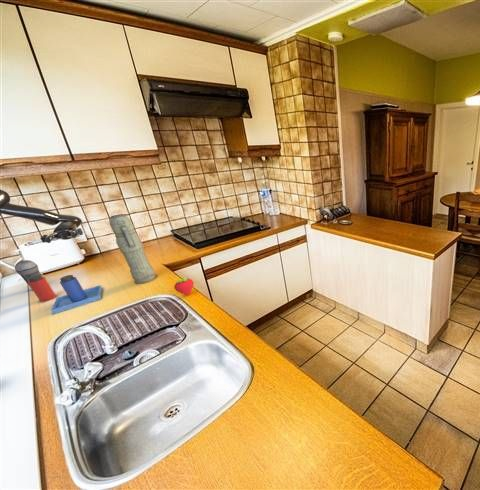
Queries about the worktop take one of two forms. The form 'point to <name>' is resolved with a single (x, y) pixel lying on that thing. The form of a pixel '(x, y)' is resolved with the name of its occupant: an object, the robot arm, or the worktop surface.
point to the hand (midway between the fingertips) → (60, 238)
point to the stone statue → (131, 249)
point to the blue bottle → (73, 288)
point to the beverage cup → (26, 269)
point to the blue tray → (65, 302)
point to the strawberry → (184, 286)
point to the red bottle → (41, 288)
